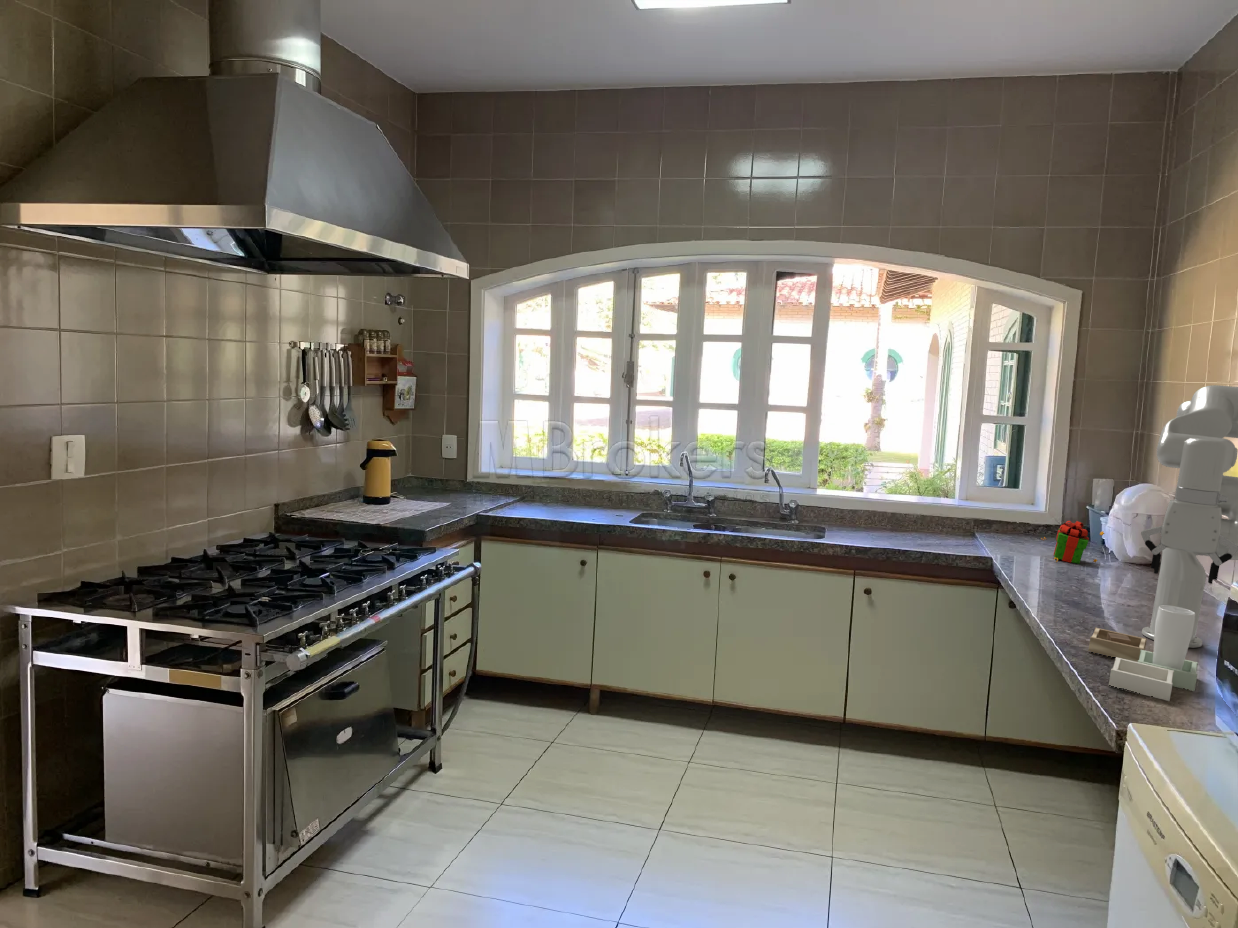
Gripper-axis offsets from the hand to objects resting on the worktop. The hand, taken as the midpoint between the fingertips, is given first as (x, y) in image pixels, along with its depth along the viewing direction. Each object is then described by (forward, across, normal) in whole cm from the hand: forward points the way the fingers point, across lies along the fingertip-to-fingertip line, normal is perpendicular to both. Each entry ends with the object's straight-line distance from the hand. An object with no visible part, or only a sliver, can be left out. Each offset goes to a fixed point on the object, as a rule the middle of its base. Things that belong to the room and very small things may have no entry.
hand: (1182, 577), depth 180 cm
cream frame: (+22, +4, +11) cm, 25 cm away
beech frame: (+22, +10, -11) cm, 27 cm away
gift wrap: (+22, +33, -119) cm, 126 cm away
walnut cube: (+22, +10, -11) cm, 27 cm away
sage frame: (+22, 0, 0) cm, 22 cm away
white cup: (+22, 0, 0) cm, 22 cm away
